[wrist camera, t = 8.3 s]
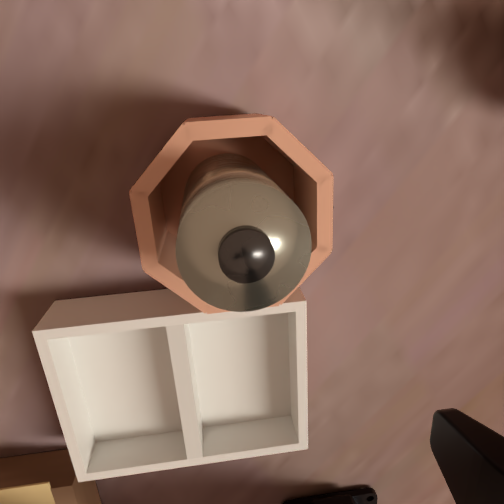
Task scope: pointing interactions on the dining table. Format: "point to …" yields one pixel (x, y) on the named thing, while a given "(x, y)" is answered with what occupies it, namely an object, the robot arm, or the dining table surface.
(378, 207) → the dining table surface
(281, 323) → the trough tray
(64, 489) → the cradle
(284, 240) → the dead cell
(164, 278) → the cup
